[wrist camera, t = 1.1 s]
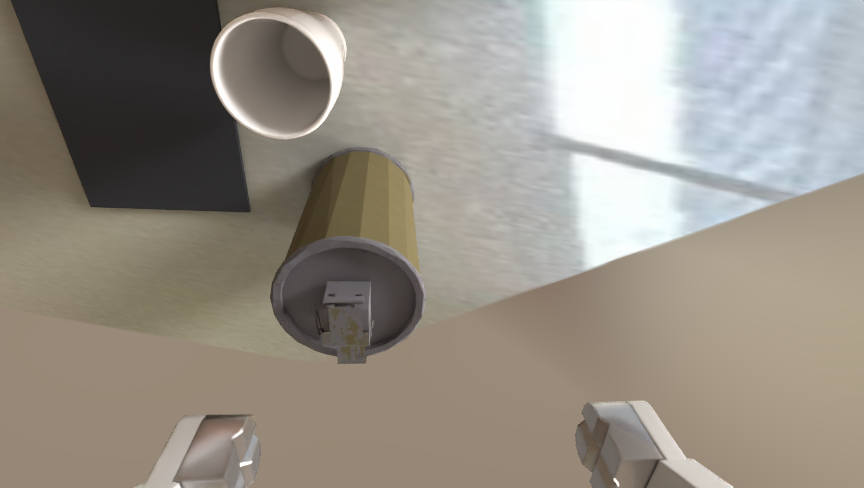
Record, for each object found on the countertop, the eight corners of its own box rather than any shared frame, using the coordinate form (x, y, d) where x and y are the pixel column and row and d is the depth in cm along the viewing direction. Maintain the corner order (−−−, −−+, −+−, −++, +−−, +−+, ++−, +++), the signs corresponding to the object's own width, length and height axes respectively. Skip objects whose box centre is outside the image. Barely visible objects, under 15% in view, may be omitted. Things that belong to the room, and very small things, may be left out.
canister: (307, 144, 40) (246, 262, 23) (416, 148, 41) (434, 263, 24) (316, 241, 45) (272, 393, 29) (411, 242, 47) (423, 389, 30)
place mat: (0, -38, 31) (-4, -38, 30) (213, -18, 33) (211, -18, 32) (92, 205, 41) (90, 207, 41) (250, 210, 43) (249, 212, 43)
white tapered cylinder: (332, -14, 33) (295, -13, 21) (369, 70, 37) (357, 115, 24) (257, 21, 34) (178, 42, 21) (300, 100, 38) (255, 158, 25)
